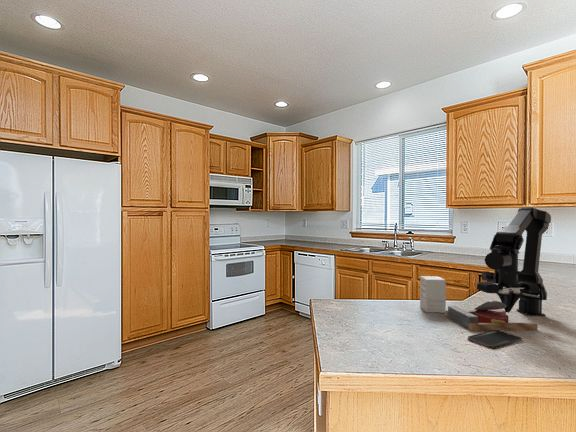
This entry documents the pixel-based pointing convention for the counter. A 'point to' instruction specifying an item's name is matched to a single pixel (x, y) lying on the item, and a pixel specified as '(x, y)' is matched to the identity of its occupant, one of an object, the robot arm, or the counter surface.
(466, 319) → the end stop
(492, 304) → the canned food
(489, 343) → the phone
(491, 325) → the guide channel
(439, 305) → the supplement box
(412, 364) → the counter surface
